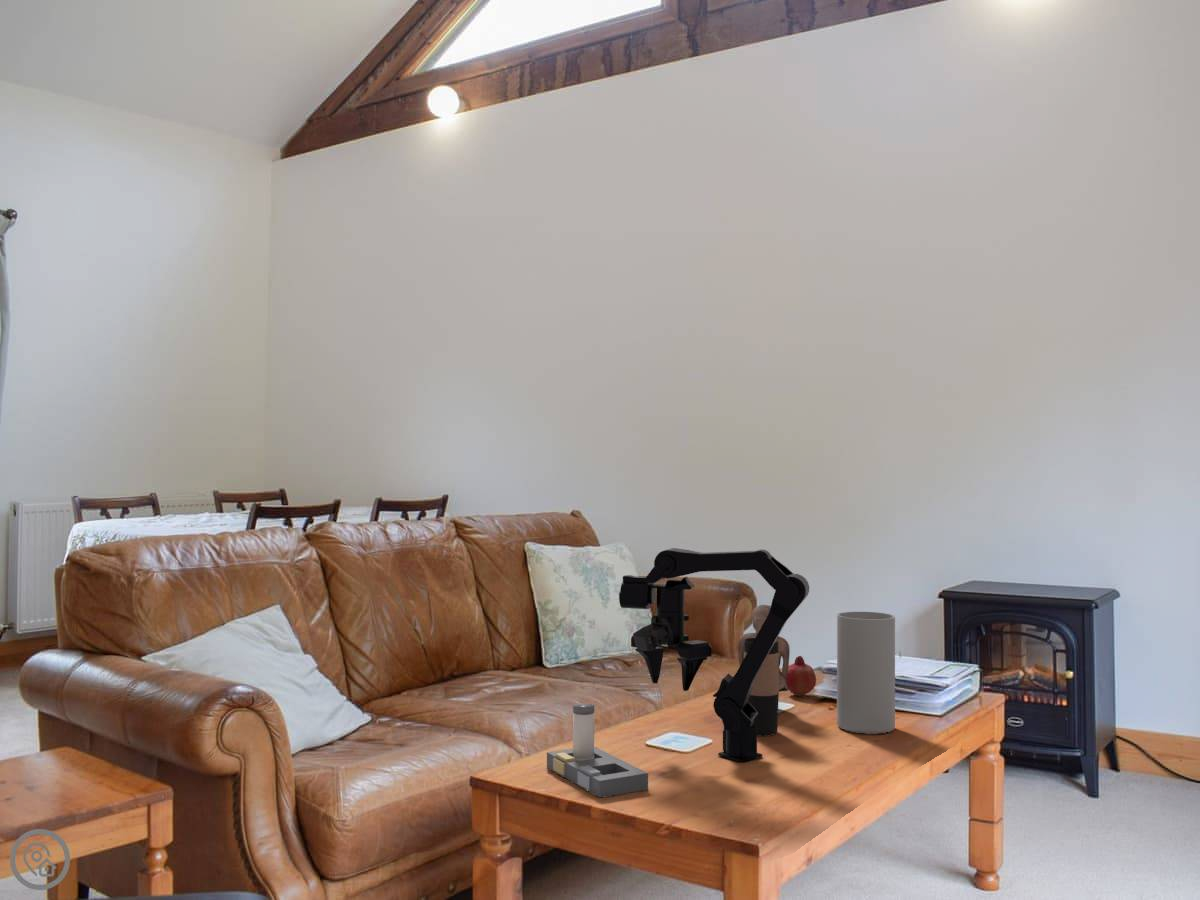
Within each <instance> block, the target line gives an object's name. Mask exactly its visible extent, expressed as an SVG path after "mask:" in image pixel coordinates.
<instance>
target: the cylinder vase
mask: <svg viewBox="0 0 1200 900" xmlns="http://www.w3.org/2000/svg"><path fill="white" fill-rule="evenodd" d="M836 619H837V620H836V660H837V661H836V724H837V726H838V727H839V728H840V729H842V730H843V729H844V730H843V731H846V732H849V731H850V733H853V732H856V733H855V734H859V733H869V734H868V735H880V734H879V733H884V734H887V733H886V732H888V733H891V732H893V731H894V730H895V727H896V615H895V614H890V613H884V612H877V611H876V612H875V611H845V612H843V611H842V612H839V613H837V615H836ZM876 733H878V734H876Z"/></svg>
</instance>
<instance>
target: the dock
mask: <svg viewBox="0 0 1200 900" xmlns="http://www.w3.org/2000/svg"><path fill="white" fill-rule="evenodd" d="M546 768H547V769H548V768H549V769H548V770H550V769H551V770H552V772H553V771H554V773H556V774H557V775H558V774H559V776H560V777H561V778H563V779H565V778H566V780H567V779H568V780H567V781H569V782H571V783H572V782H573V784H574V783H575V785H576V784H577V785H576V786H578V785H579V786H581V787H582V788H581V787H580V788H581V789H583V788H584V789H586V790H588V791H589V792H588V791H587V792H588V793H590V792H591V793H593V794H595V795H596V796H595V795H594V796H595V797H597V796H598V797H603V798H605V797H604V796H609V797H613V796H612V795H615V796H619V795H618V794H621V795H624V794H623V793H626V794H630V793H629V792H632V793H636V792H635V791H638V792H642V791H641V790H644V791H648V790H649V773H648V772H647V771H645V770H643V769H641V768H639V767H637V766H634V765H632V764H630V763H628V762H627V761H624V760H622V759H621V758H618V757H616V756H614V755H612V754H610V753H609V752H606V751H604V750H602V749H600V748H598V747H596V746H594V759H589V760H583V761H575V758H574V757H573V748H567V749H560V750H552V751H547V752H546ZM551 770H550V771H551ZM579 786H578V787H579ZM584 789H583V790H584ZM586 790H585V791H586ZM591 793H590V794H591ZM593 794H592V795H593ZM598 797H597V798H598Z"/></svg>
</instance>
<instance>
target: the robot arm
mask: <svg viewBox="0 0 1200 900" xmlns="http://www.w3.org/2000/svg"><path fill="white" fill-rule="evenodd" d="M653 563H654V564H653V567H652V568H651V570H650V571H649V573H647V576H638V575H637V576H636V575H632V574H625V575H623V576H622V582H621V585H620V589H619V590H620V591H619V593H618V600H619V601H618V602H619V606H620V608H621V609H633V610H650V608H651V607H652V606H651V605H653V606H654V605H655V604H656V614H652V616H651V618H650V624H647V625H644V626H643V627H641V628H639V629H638V630H636V631H635V632H633V634H632V636H631V637H630V647H631V648H635V649H634V650H635V652H637V653H639V654H640V655H641V656H642V657H643V659H644V662H645V663H646V667H647V669H648V672H649V676H650V679H651V682H652V683H653V684H658V683H659V679H660V674H661V669H662V663H663V657H664V652H665V649H669V650H672V651H673V650H674V651H676V652H677V654H678V656H679V657H677V658H676V660H677V661H678V662H679V664H680V666H681V681H682V683H681V684H682V690H683V691H684V692H688V691H689V690H690V688H691V686H692V683H693V681H694V679H695V677H696V675H697V672H698V671H699V669H700V668H701V665H702V664H703V662H704V661H706V660H707V659H708V657H712V652H713V651H712V645H711V644H710V643H709V642H710V641H709V642H708V641H706V640H705V641H704V640H700V639H694V640H689V639H690V636H689V635H688V634H685V622H686V621H690V619H689V618H690V616H689V614H685V604H686V603H685V590H688V591H689V590H692V589H694V588H695V584H694V583H693V582H692V581H691V580H690V579H689V578H688V576H686V575H690V574H695V573H701V572H727V571H730V572H731V571H732V572H733V571H756V572H757V573H758V574H759V575H760V576H761V577H762V579H764V580H765V582H766V583H767V584H768V585H769V586H770V587H771V588H772V589H773V590H775V591H774V594H773V598H772V601H771V604H770V606H771V607H770V611H769V614H768V616H767V618H766V620H765V622H764V623H763V625H762V627H761V629H760V631H759V633H758V634H757V636H756V638H755V640H754V642H753V643H752V645H751V647H750V649H749V651H748V653H747V654H746V656H745V658H744V660H743V662H742V664H741V665H739V668H738V670H737V672H736V673H734V675H733V676H732V675H731V674H730V673H727V674H725V675H724V677H723V678H722V679H721V681H720V684H719V687H718V689H717V691H716V692H714V694H713V695H712V697H713V698H714V699H713V700H714V701H713V704H712V705H713V709H714V713H715V714H716V715H717V717H718V718H720V720H721V722H722V725H723V730H722V751H721V752H718V753H717V756H719V757H723V758H725V759H729V760H733V761H736V762H738V763H743V762H746V761H751V760H755V759H759V758H760V759H761V758H763V754H762V753H759V752H758V736H757V727H755V726H754V725H753V723H754V722H755V720H756V718H757V715H758V712H757V710H756V709H755V708H754V707H753V706H752V705H751V704H750V703H749V702H748V700H749V697H750V694H751V690H752V686H753V683H754V679H755V677H756V675H757V674H758V672H759V670H760V668H761V666H762V665H763V663H764V661H765V659H766V657H767V656H768V654H769V652H770V650H771V648H772V646H773V645H774V643H775V641H776V639H777V637H778V636H779V637H780V634H781V632H782V630H783V629H784V626H785V624H786V623H787V621H788V620H789V619H790V618H791V616H793V614H794V613H795V612H796V610H797V609H798V608H799V606H801V604H802V603H803V602H804V600H806V598H807V597H808V596H809V593H810V584H809V582H808V581H807V578H805V577H804V576H803V575H801V574H798V573H794V572H792V571H791V570H790V569H789V568H788V567H787V566H786V565H784V564H783V563H781V561H779V560H777V559H776V558H775V557H774V556H773V555H771V553H770V552H769V551H768V550H766V549H758V550H745V551H744V550H742V551H741V550H739V551H719V552H718V551H716V552H715V551H714V552H712V551H711V552H702V551H695V550H689V549H684V548H676V547H675V548H674V547H673V548H668V549H665V550H662V551H660V552H658V554H656V556H655V558H654V562H653ZM683 576H685V577H683ZM678 577H682V579H681V580H680V579H679V580H677V579H673V578H678ZM664 579H667V580H666V582H665V584H664V583H662V584H661V583H660V584H659V583H657V582H660V581H662V580H664Z"/></svg>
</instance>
